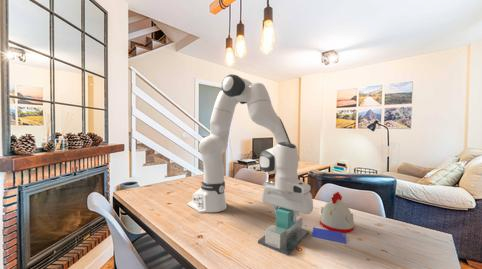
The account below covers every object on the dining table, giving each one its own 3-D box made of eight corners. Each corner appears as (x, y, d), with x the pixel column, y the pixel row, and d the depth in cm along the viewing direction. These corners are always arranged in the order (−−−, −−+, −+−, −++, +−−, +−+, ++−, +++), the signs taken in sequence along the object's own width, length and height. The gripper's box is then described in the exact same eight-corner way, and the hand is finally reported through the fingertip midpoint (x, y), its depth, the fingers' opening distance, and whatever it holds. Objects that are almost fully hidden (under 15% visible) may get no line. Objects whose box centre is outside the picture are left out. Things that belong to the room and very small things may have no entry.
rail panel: (257, 243, 77) (258, 227, 77) (282, 224, 93) (282, 211, 93) (287, 255, 70) (287, 237, 70) (308, 233, 85) (309, 218, 85)
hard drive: (345, 232, 84) (313, 226, 89) (346, 242, 77) (311, 235, 82) (345, 236, 84) (313, 230, 89) (346, 246, 77) (311, 239, 82)
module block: (275, 225, 80) (275, 210, 80) (283, 219, 86) (284, 205, 85) (287, 229, 77) (287, 213, 77) (295, 222, 82) (295, 208, 82)
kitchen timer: (313, 224, 94) (314, 191, 93) (328, 216, 103) (329, 186, 102) (345, 236, 83) (346, 199, 83) (359, 226, 92) (360, 193, 92)
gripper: (259, 181, 85) (259, 214, 85) (308, 190, 72) (308, 229, 73) (267, 178, 90) (267, 210, 90) (314, 186, 77) (314, 223, 78)
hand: (285, 218), depth 81 cm, fingers closed on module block, 5 cm apart
